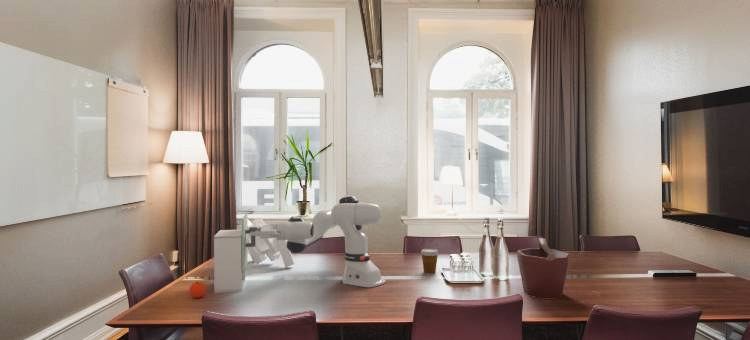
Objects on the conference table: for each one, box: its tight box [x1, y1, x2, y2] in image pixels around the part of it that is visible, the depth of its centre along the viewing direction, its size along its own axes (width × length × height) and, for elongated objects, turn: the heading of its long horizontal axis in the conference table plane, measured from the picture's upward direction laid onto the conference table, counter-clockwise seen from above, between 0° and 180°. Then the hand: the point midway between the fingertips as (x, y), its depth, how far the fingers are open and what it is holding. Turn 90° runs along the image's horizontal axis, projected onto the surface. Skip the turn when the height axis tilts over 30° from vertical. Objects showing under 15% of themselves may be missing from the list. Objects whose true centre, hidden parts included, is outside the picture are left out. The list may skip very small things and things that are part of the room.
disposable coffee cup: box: [420, 248, 439, 274], centre depth 236 cm, size 10×10×12 cm
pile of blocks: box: [239, 217, 295, 268], centre depth 253 cm, size 35×30×35 cm
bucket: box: [516, 237, 571, 299], centre depth 198 cm, size 24×22×25 cm
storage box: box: [213, 229, 246, 294], centre depth 208 cm, size 12×18×26 cm, turn 11°
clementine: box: [188, 281, 208, 299], centre depth 192 cm, size 8×7×7 cm
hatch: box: [241, 213, 257, 272], centre depth 210 cm, size 6×19×25 cm, turn 11°
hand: (251, 231), depth 210 cm, fingers open, 8 cm apart
